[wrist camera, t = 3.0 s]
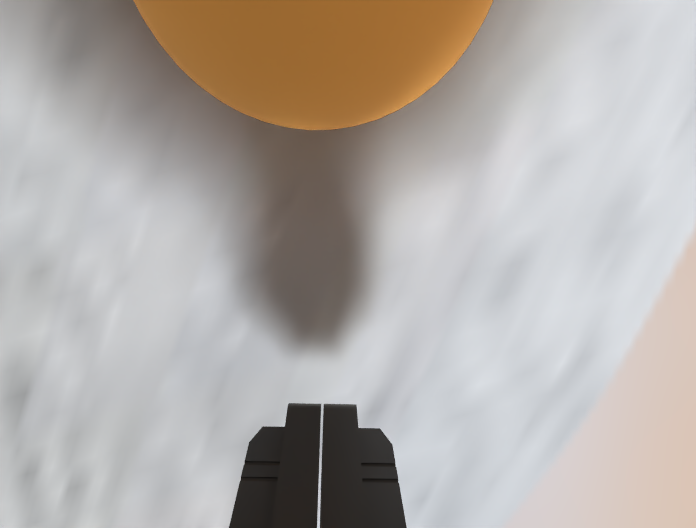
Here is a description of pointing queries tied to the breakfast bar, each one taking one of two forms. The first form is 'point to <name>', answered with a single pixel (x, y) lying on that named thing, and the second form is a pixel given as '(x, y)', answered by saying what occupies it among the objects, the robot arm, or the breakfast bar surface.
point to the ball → (315, 53)
